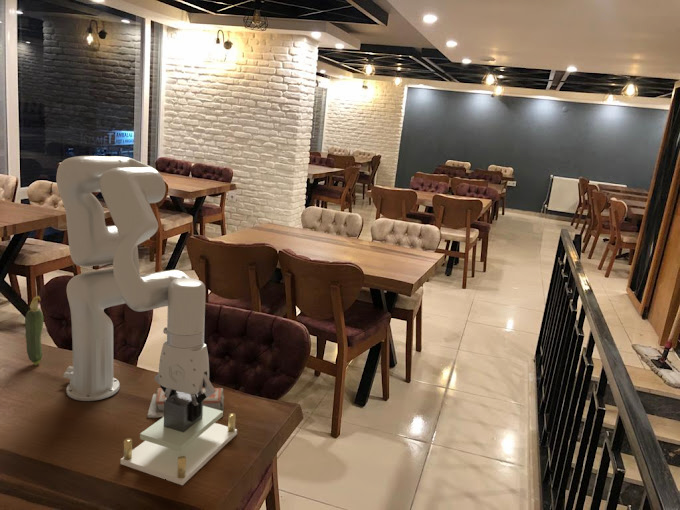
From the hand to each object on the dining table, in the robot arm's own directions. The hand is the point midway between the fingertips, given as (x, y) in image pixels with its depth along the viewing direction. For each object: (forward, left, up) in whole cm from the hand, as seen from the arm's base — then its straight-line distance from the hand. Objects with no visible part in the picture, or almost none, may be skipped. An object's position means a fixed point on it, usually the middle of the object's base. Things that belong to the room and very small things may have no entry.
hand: (183, 414), depth 120 cm
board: (0, 0, -3) cm, 3 cm away
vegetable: (-59, +15, -8) cm, 62 cm away
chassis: (0, 0, -8) cm, 8 cm away
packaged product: (-10, +15, -9) cm, 20 cm away
